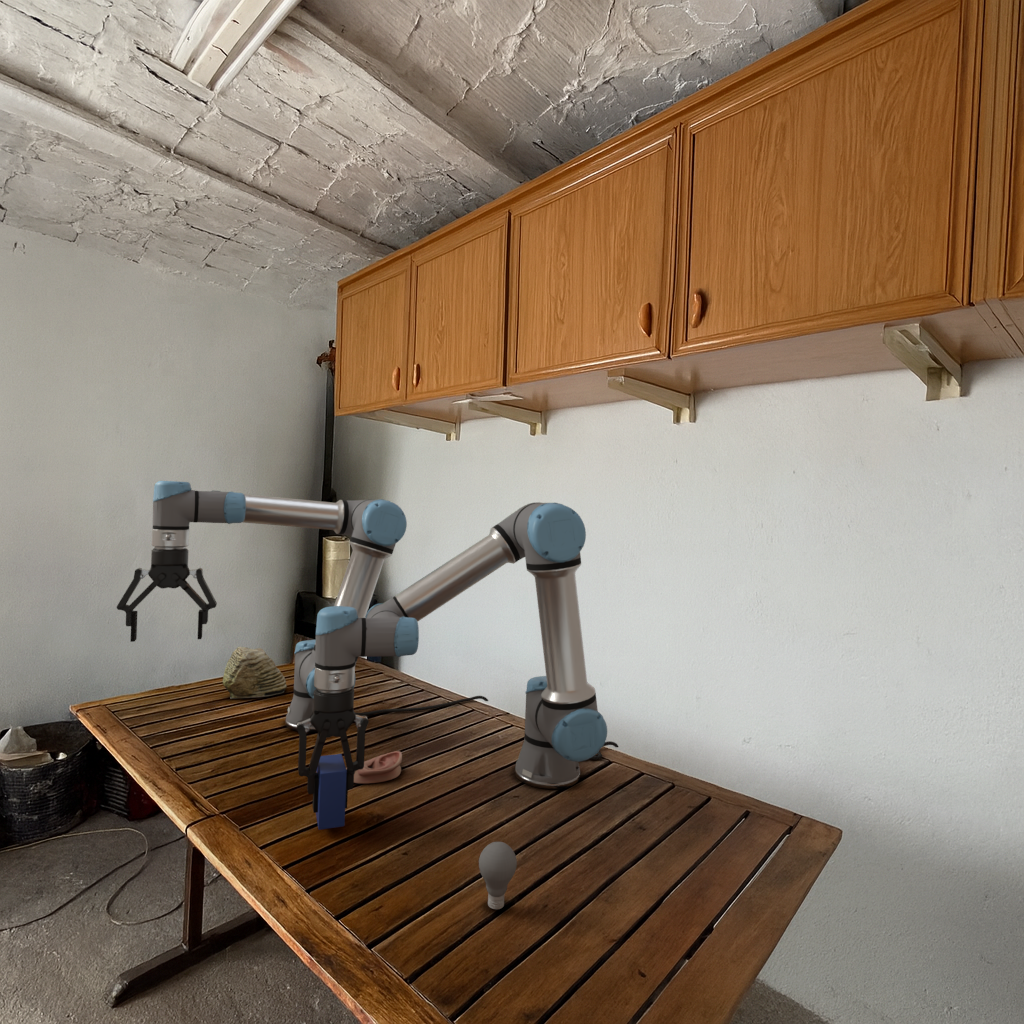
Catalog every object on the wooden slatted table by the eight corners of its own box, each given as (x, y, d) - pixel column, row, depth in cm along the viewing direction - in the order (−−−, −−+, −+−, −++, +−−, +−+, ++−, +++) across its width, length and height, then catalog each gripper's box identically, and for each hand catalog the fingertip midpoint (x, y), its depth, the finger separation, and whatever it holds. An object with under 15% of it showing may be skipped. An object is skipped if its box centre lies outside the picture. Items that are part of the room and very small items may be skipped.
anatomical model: (332, 762, 141) (355, 743, 152) (332, 780, 141) (355, 759, 153) (388, 770, 139) (407, 750, 150) (388, 788, 139) (407, 766, 150)
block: (315, 809, 126) (317, 756, 125) (339, 805, 127) (341, 753, 127) (318, 830, 118) (320, 773, 118) (344, 826, 120) (346, 770, 119)
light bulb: (476, 895, 103) (478, 834, 102) (513, 894, 103) (515, 834, 103) (477, 919, 97) (480, 854, 96) (516, 919, 97) (519, 854, 97)
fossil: (218, 695, 195) (220, 647, 195) (278, 685, 208) (279, 640, 207) (228, 703, 189) (230, 653, 188) (289, 692, 201) (290, 645, 201)
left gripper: (103, 548, 138) (100, 645, 139) (228, 549, 147) (225, 640, 148) (111, 545, 145) (108, 637, 146) (230, 547, 154) (227, 633, 155)
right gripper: (286, 697, 115) (281, 823, 116) (384, 690, 122) (379, 810, 122) (284, 685, 122) (280, 804, 123) (377, 679, 129) (373, 792, 129)
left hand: (167, 639), depth 147 cm, fingers open, 13 cm apart
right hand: (329, 807), depth 123 cm, fingers closed on block, 5 cm apart
